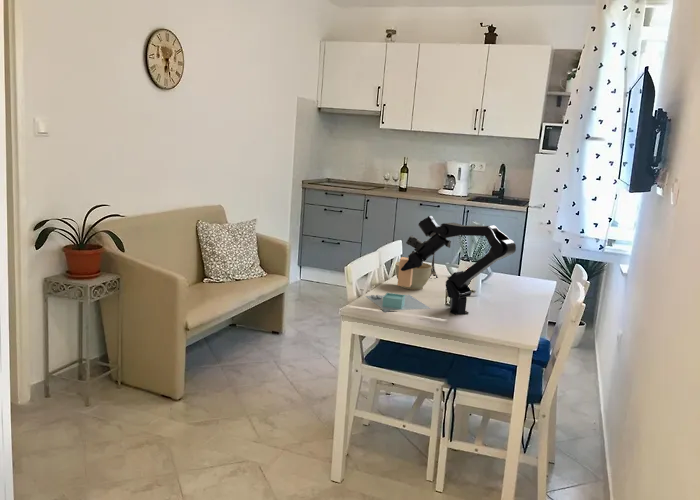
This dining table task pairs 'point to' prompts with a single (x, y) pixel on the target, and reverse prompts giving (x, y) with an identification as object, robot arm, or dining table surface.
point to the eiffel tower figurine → (433, 268)
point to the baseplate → (406, 307)
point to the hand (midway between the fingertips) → (402, 268)
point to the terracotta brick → (404, 274)
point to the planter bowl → (417, 276)
